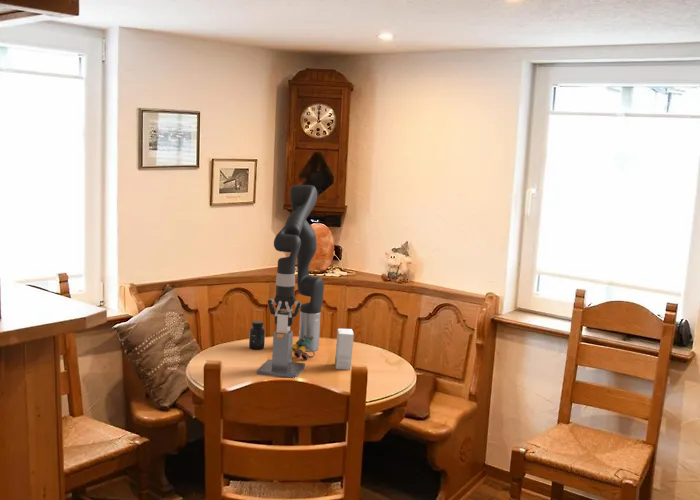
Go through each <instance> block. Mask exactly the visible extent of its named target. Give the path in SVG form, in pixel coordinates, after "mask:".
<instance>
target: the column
mask: <svg viewBox="0 0 700 500" xmlns="http://www.w3.org/2000/svg"><path fill="white" fill-rule="evenodd" d="M288 321H289V313H288V312H287V309H281V310H280V311H279V312H277V325H276V331H277V333H279V334H289V333H290V331H291V326H290V327H288Z"/></svg>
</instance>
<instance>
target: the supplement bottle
mask: <svg viewBox="0 0 700 500" xmlns="http://www.w3.org/2000/svg"><path fill="white" fill-rule="evenodd" d="M251 322H252V323H251V326H252V327H250V328H249V338H248V339H249V341H248V348H249V349H250V350H253V351H261V350H264V349H265V339H266V338H265V337H266V328H264V322H263V321H261V320H253V321H251Z"/></svg>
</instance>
